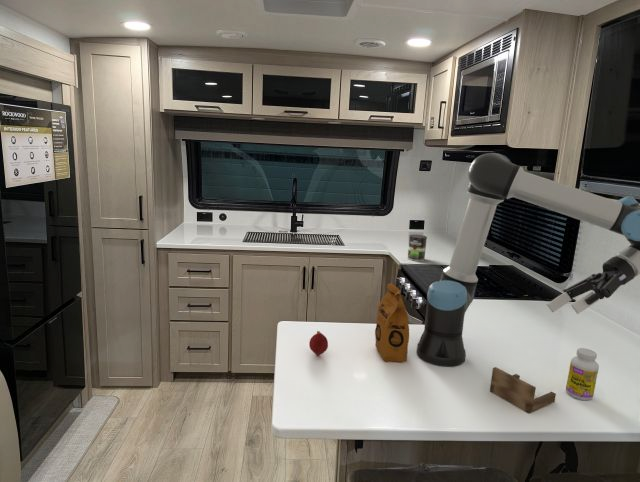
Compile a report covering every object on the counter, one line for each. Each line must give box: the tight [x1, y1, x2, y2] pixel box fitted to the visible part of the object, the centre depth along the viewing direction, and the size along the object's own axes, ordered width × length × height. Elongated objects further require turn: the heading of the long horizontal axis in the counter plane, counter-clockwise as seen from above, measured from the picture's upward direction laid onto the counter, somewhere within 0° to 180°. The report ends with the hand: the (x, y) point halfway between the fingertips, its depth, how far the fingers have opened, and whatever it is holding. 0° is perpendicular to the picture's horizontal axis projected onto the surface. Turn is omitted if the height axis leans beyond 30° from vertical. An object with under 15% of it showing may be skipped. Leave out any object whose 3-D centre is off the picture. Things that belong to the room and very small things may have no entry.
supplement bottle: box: [565, 347, 600, 401], centre depth 123 cm, size 7×7×13 cm
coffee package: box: [374, 282, 410, 363], centre depth 141 cm, size 10×12×22 cm
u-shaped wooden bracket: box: [489, 366, 557, 414], centre depth 121 cm, size 12×11×7 cm
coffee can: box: [407, 234, 428, 262], centre depth 270 cm, size 10×10×14 cm
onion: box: [308, 330, 329, 356], centre depth 140 cm, size 6×6×8 cm
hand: (561, 308), depth 124 cm, fingers open, 13 cm apart
